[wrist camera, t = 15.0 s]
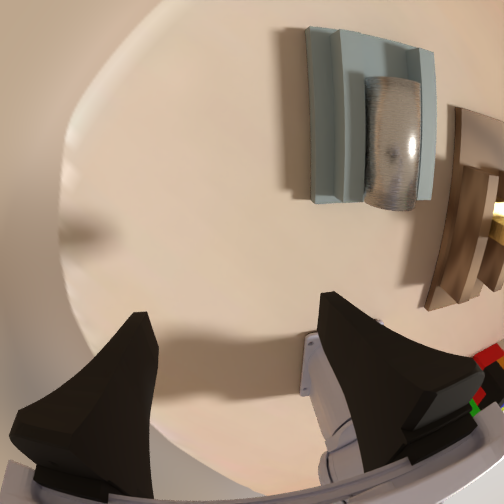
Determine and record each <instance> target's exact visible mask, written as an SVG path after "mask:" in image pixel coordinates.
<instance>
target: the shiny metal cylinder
mask: <svg viewBox="0 0 504 504" xmlns="http://www.w3.org/2000/svg"><path fill="white" fill-rule="evenodd" d="M365 102H366V151H365V178H364V195H363V200H364V202H366V203H367V204H369V205H371V206H374V207H377V208H381V209H385V210H392V211H409V210H412V209H414V208H415V202H416V194H417V184H418V173H419V160H420V141H421V88H420V83H418V82H416V81H413V80H408V79H403V78H397V77H385V76H373V77H366V78H365Z"/></svg>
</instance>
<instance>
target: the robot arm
mask: <svg viewBox="0 0 504 504" xmlns="http://www.w3.org/2000/svg"><path fill="white" fill-rule="evenodd" d="M310 342H311V343H310ZM158 354H159V346H158V344H157V341H156V338H155V335H154V332H153V329H152V326H151V323H150V320H149V316H148V313H147V312H133V314H132V315H131V316H130V317H129V318H128V319H127V320H126V322H125V323H124V324H123V325H122V327H121V328H120V329H119V330H118V331H117V333H116V334H115V335H114V336H113V337H112V338H111V340H110V341H109V342H108V343H107V344H106V345H105V346H104V347H103V349H102V350H101V351H100V352H99V353H98V354H97V355H96V356H95V357H94V358H93V359H92V360H91V361H90V362H89V363H88V364H87V365H86V366H85V367H84V368H83V369H82V370H81V371H80V372H78V373H77V374H76V375H75V376H74V377H72V378H71V379H70V380H68V381H67V382H66V383H64V384H63V385H62V386H61V387H59V388H58V389H56V390H55V391H53V392H52V393H50V394H49V395H47V396H45V397H44V398H42V399H40V400H38V401H37V402H35V403H33V404H31V405H29V406H27V407H25V408H23V409H20V410H18V413H17V415H16V418H15V420H14V423H13V426H12V428H11V431H10V434H9V437H10V440H11V442H12V443H13V444H14V445H15V446H16V447H17V448H18V449H19V450H20V451H21V452H22V453H23V454H25V455H26V456H27V457H28V458H29V459H31V460H32V461H33V462H34V463H36V464H37V465H36V469H35V470H34V469H32V468H30V467H28V466H26V465H23V464H20V463H18V462H15V461H13V460H9V461H8V464H7V468H6V472H5V475H4V480H3V484H2V488H1V492H0V504H443V502H444V500H446V499H447V498H449V497H451V496H453V495H454V494H456V493H457V492H459V491H460V490H462V489H464V488H465V487H466V486H468V485H469V484H471V483H472V482H474V481H475V480H477V479H478V478H479V477H481V476H482V475H483V474H485V473H486V472H487V471H489V470H490V469H491V468H492V467H494V466H495V465H496V464H498V463H499V462H500V461H501V460H502V459H503V458H504V413H503V411H502V410H501V408H500V407H499V405H498V404H497V403H496V402H493V403H492V404H490V405H489V406H487V407H486V408H484V409H483V410H481V411H480V412H479V413H477V414H476V415H475V416H474V417H472V415H471V414H470V412H471V411H472V406H471V405H470V403H469V402H470V401H471V399H472V398H473V396H474V395H475V394H476V392H477V391H478V389H479V388H480V386H481V385H482V383H483V380H484V377H485V374H484V372H483V370H482V369H481V368H480V366H479V365H478V364H477V363H476V361H475V360H474V359H473V358H470V357H464V356H459V355H454V354H450V353H446V352H443V351H439V350H436V349H433V348H430V347H427V346H425V345H422V344H420V343H417V342H415V341H412V340H410V339H408V338H406V337H404V336H402V335H400V334H398V333H396V332H394V331H392V330H390V329H389V328H387V327H385V326H384V323H383V322H382V320H377V321H376V320H374V319H373V318H371V317H370V316H368V315H367V314H365V313H364V312H362V311H361V310H360V309H358V308H357V307H355V306H354V305H353V304H351V303H350V302H349V301H347V300H346V299H344V298H343V297H342V296H340V295H339V294H338V293H336V292H335V291H333V292H326V293H321V295H320V306H319V316H318V325H317V332H316V333H310V334H308V335H307V336H306V337H305V344H304V355H303V365H302V375H301V384H300V396H310V399H311V402H312V405H313V408H314V411H315V414H316V417H317V420H318V423H319V426H320V429H321V432H322V435H323V437H324V439H325V440H326V441H325V444H326V447H327V450H328V451H326V452H324V453H323V454H322V456H321V458H320V463H319V466H318V475H319V480H320V484H321V486H318V487H314V488H309V489H305V490H300V491H295V492H289V493H283V494H277V495H271V496H264V497H255V498H246V499H235V500H216V501H174V500H158V499H154V496H153V489H152V480H151V470H150V455H149V454H150V453H149V423H150V411H151V405H152V399H153V393H154V387H155V381H156V375H157V369H158Z"/></svg>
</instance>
